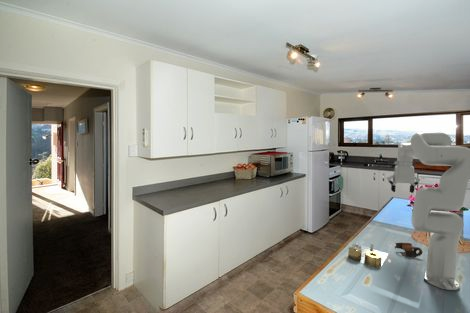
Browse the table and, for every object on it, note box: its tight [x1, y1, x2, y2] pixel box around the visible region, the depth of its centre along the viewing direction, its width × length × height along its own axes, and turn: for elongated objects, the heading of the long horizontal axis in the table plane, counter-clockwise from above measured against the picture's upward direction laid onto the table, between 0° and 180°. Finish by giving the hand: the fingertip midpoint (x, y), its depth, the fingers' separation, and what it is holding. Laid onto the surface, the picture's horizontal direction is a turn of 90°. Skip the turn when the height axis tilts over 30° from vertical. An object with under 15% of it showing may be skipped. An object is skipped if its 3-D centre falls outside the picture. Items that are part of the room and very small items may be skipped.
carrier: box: [344, 242, 389, 270], centre depth 124 cm, size 20×16×6 cm
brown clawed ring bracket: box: [394, 242, 423, 259], centre depth 127 cm, size 12×10×8 cm
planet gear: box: [365, 251, 382, 267], centre depth 117 cm, size 7×7×4 cm
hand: (402, 191), depth 144 cm, fingers open, 9 cm apart
